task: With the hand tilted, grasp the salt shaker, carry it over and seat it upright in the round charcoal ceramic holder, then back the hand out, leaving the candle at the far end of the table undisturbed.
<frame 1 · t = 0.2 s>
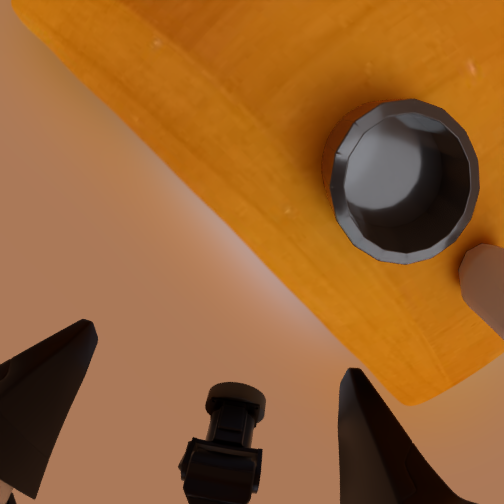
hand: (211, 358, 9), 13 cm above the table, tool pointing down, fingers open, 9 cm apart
holder: (389, 169, 18), on the table
salt shaker: (475, 263, 20), on the table
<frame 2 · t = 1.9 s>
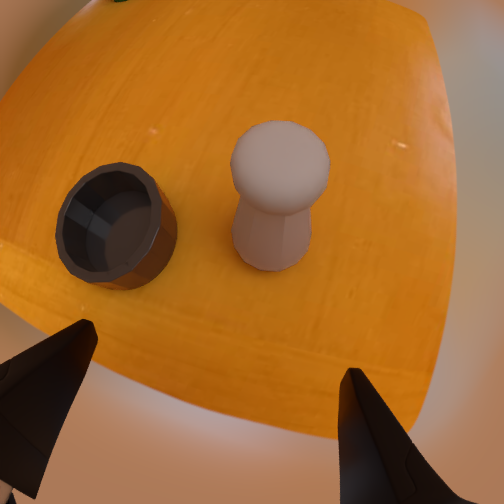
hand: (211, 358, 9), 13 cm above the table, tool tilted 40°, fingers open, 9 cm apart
holder: (126, 235, 24), on the table
salt shaker: (270, 241, 24), on the table
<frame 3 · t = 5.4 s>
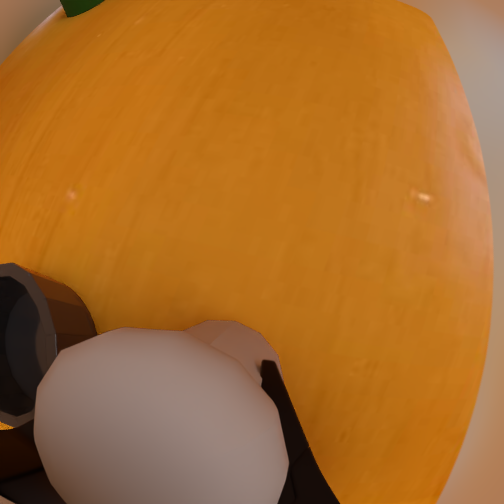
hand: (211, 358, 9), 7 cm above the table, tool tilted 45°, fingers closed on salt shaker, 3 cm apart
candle: (87, 5, 31), on the table
holder: (45, 348, 15), on the table
salt shaker: (226, 373, 15), on the table, touching gripper
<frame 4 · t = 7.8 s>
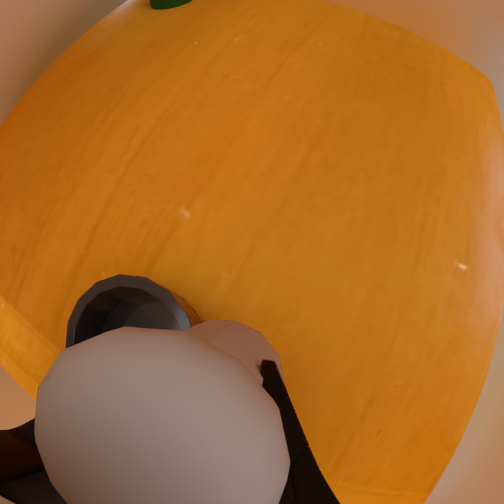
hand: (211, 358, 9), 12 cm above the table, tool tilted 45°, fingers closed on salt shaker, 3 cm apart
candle: (173, 0, 36), on the table
holder: (148, 347, 21), on the table
salt shaker: (226, 373, 15), point 5 cm above the table, touching gripper
when the fingers open (7 cm above the table, at t = 10.5 s): salt shaker stays where it is, resting on holder.
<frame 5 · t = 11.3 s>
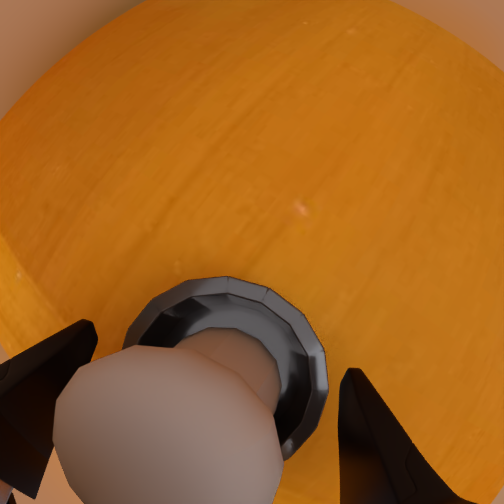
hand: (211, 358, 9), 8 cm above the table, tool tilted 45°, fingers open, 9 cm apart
holder: (227, 372, 16), on the table
salt shaker: (226, 377, 16), resting on holder
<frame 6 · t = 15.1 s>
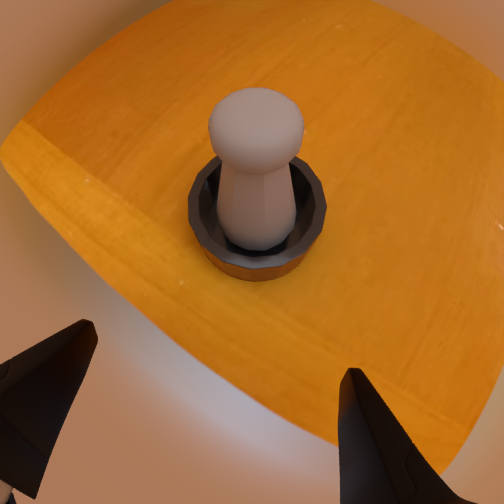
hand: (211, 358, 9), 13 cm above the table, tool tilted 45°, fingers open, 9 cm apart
holder: (256, 224, 24), on the table
salt shaker: (256, 225, 24), resting on holder
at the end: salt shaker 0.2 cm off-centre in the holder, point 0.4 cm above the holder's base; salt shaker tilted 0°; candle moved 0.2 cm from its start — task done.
